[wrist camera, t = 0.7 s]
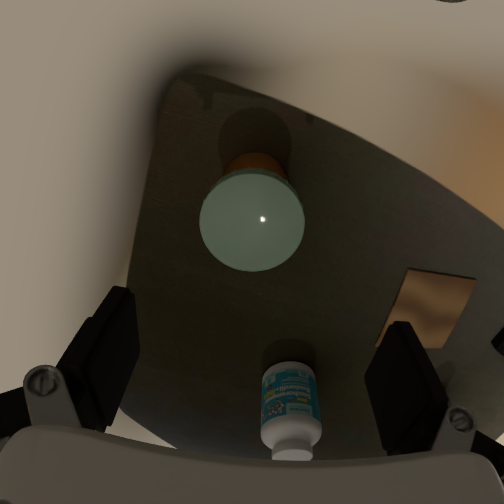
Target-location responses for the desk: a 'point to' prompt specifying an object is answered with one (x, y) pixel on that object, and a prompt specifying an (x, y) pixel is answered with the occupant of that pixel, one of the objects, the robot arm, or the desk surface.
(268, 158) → the jam jar
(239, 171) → the jam lid
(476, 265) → the desk surface
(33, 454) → the robot arm
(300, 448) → the pill bottle
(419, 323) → the coaster
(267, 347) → the desk surface
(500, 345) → the vhs tape
